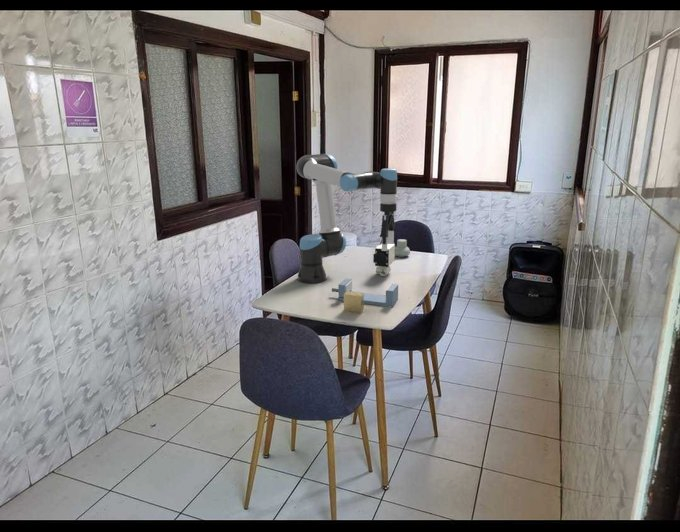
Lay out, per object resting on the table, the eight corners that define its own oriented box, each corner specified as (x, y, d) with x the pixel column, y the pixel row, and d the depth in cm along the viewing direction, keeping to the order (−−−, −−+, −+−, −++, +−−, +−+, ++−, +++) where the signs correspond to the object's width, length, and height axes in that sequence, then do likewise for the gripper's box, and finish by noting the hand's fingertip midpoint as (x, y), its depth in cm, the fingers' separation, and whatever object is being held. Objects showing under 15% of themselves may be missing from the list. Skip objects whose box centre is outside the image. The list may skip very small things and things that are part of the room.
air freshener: (411, 257, 300) (411, 241, 297) (398, 258, 298) (398, 242, 295) (404, 253, 310) (405, 238, 307) (392, 254, 308) (392, 238, 305)
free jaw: (328, 295, 230) (328, 283, 228) (336, 289, 239) (336, 277, 237) (345, 297, 227) (345, 285, 225) (352, 290, 236) (352, 279, 234)
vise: (338, 300, 229) (338, 285, 227) (345, 293, 238) (345, 278, 236) (392, 306, 220) (392, 291, 218) (398, 299, 229) (398, 284, 227)
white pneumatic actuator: (380, 269, 276) (381, 238, 272) (395, 270, 274) (396, 239, 269) (371, 278, 260) (371, 246, 255) (386, 280, 257) (387, 247, 252)
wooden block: (343, 311, 216) (343, 294, 213) (346, 308, 219) (346, 291, 217) (361, 313, 213) (361, 296, 211) (363, 310, 216) (363, 293, 214)
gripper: (390, 207, 214) (389, 254, 220) (401, 199, 236) (400, 241, 242) (373, 206, 216) (373, 253, 222) (386, 198, 239) (385, 240, 245)
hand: (387, 247), depth 232 cm, fingers open, 13 cm apart
